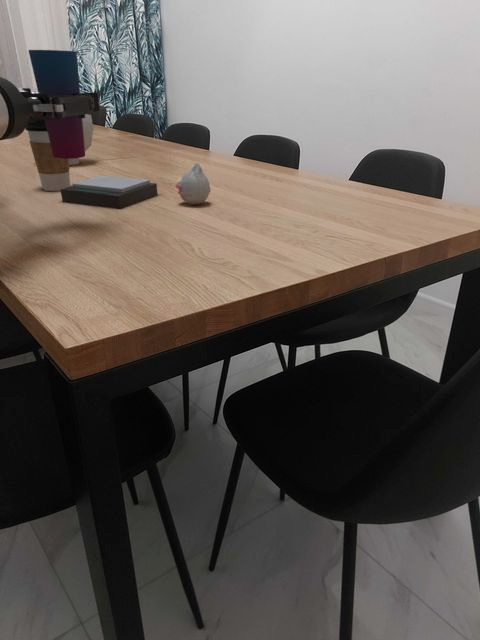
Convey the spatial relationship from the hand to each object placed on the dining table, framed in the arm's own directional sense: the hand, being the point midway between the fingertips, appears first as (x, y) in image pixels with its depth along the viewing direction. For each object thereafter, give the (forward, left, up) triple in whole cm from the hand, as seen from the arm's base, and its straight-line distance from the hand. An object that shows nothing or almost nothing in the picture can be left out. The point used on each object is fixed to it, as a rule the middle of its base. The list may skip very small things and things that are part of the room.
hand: (77, 100), depth 83 cm
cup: (+1, -5, -8) cm, 10 cm away
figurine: (+11, +17, -20) cm, 29 cm away
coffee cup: (-24, +17, -20) cm, 35 cm away
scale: (-7, +14, -19) cm, 25 cm away
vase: (-45, +46, -20) cm, 67 cm away
